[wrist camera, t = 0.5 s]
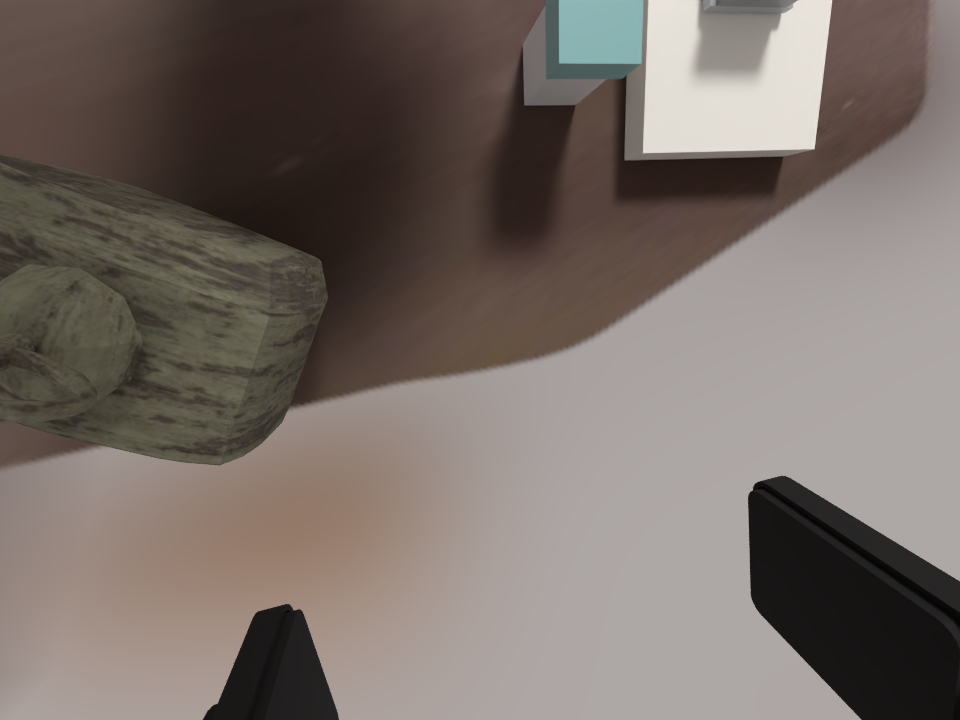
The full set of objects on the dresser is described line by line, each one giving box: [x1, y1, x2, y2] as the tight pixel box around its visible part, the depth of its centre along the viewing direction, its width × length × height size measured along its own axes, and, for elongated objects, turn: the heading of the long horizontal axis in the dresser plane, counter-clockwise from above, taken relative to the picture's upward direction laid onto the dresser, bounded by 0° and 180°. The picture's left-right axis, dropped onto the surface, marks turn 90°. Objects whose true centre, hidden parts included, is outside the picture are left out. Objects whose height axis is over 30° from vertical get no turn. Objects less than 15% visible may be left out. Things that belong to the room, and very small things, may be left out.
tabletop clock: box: [0, 154, 328, 465], centre depth 23 cm, size 14×9×25 cm, turn 67°
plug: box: [523, 0, 644, 105], centre depth 30 cm, size 5×5×10 cm
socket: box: [624, 0, 832, 160], centre depth 34 cm, size 19×14×3 cm
